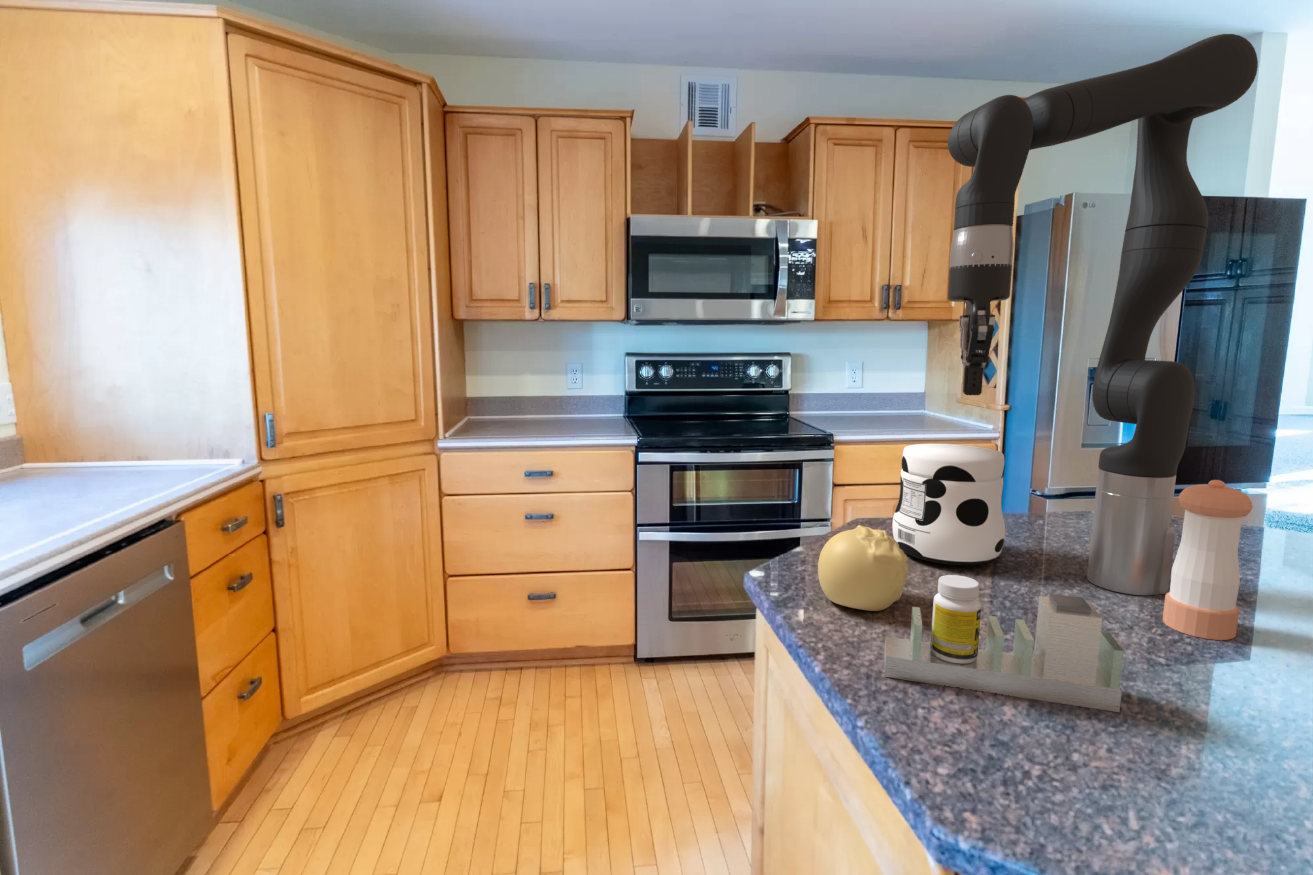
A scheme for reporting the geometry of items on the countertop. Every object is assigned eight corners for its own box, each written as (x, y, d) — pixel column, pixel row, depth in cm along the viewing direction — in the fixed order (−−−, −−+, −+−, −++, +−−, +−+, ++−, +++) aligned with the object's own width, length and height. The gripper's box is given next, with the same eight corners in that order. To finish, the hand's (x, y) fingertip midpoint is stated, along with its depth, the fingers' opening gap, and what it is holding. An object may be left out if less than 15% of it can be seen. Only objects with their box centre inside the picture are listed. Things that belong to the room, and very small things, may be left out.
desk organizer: (1103, 687, 70) (1113, 597, 69) (1119, 712, 65) (1130, 616, 64) (884, 655, 77) (888, 573, 76) (884, 676, 72) (889, 589, 71)
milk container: (1007, 550, 114) (1016, 447, 112) (996, 581, 100) (1006, 465, 97) (903, 534, 124) (908, 439, 121) (879, 561, 109) (885, 453, 106)
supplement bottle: (982, 667, 70) (988, 591, 68) (935, 663, 70) (940, 587, 69) (970, 646, 74) (976, 574, 73) (926, 642, 75) (930, 571, 74)
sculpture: (914, 623, 86) (919, 543, 84) (819, 616, 88) (822, 538, 86) (898, 589, 97) (902, 518, 95) (814, 584, 99) (817, 514, 97)
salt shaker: (1218, 645, 80) (1239, 489, 77) (1150, 622, 86) (1167, 477, 83) (1247, 632, 83) (1268, 483, 80) (1180, 611, 89) (1197, 472, 86)
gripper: (1022, 257, 80) (1011, 400, 83) (1002, 267, 93) (994, 391, 95) (955, 260, 83) (946, 398, 85) (944, 269, 95) (937, 390, 98)
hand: (971, 394), depth 90 cm, fingers closed
